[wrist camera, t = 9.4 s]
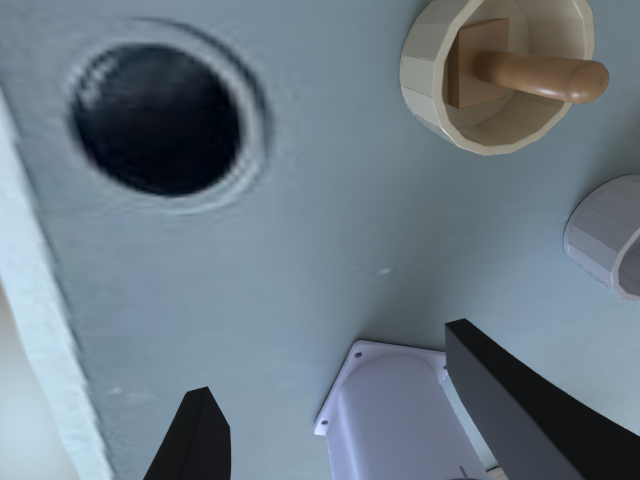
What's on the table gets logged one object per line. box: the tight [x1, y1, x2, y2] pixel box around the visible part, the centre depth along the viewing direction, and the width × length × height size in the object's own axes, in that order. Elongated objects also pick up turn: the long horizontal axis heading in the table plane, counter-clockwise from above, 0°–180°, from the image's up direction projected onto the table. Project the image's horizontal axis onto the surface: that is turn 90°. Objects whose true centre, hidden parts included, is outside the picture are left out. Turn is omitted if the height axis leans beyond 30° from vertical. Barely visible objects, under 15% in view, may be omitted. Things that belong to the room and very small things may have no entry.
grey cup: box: [563, 175, 640, 302], centre depth 22 cm, size 6×6×4 cm
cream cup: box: [399, 0, 595, 156], centre depth 16 cm, size 6×6×4 cm
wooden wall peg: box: [448, 18, 609, 109], centre depth 14 cm, size 3×2×7 cm
